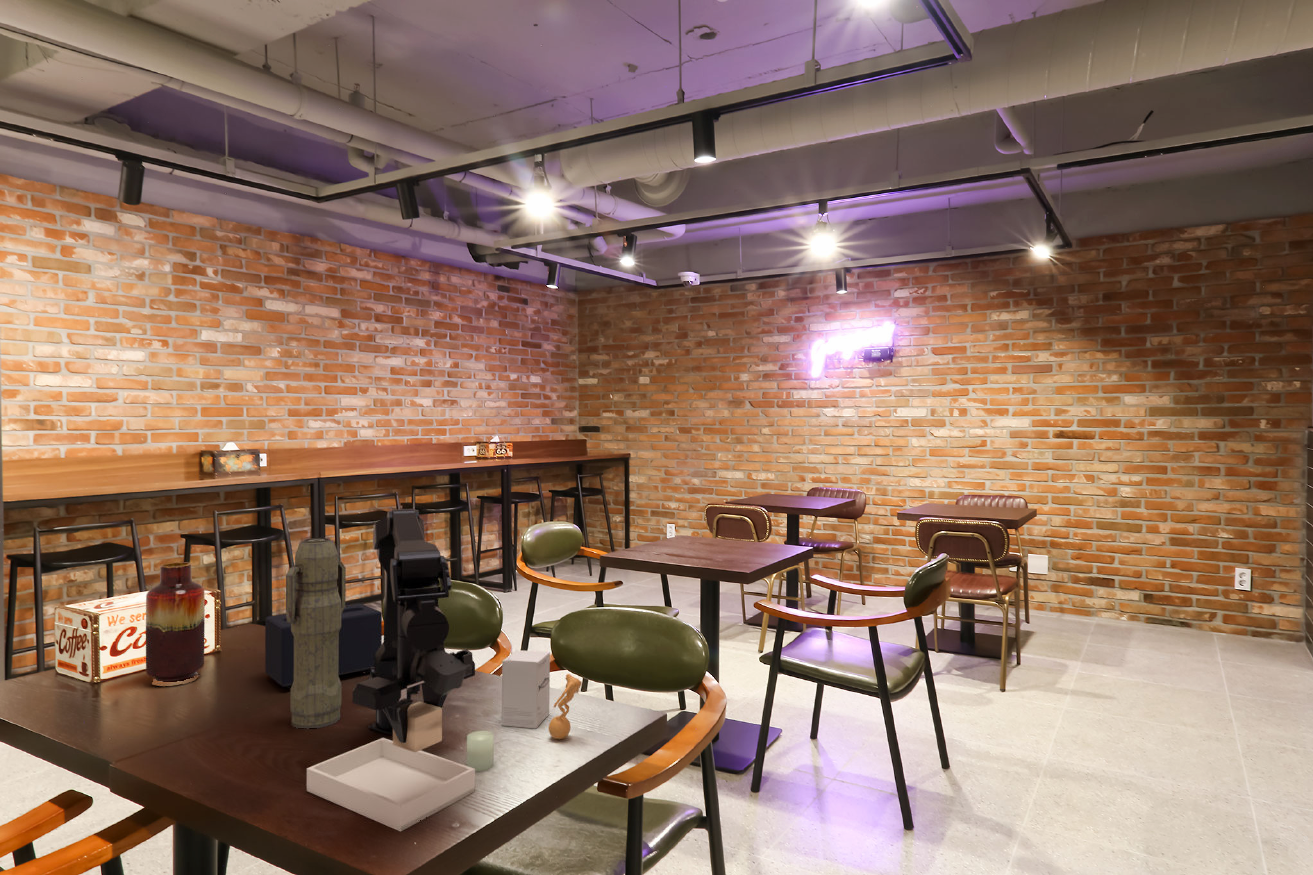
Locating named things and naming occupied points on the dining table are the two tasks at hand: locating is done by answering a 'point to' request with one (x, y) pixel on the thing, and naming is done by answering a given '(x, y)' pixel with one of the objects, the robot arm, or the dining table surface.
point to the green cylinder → (480, 750)
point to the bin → (391, 783)
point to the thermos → (315, 632)
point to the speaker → (355, 643)
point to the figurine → (561, 724)
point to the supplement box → (525, 688)
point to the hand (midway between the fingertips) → (417, 736)
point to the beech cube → (421, 727)
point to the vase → (175, 625)
